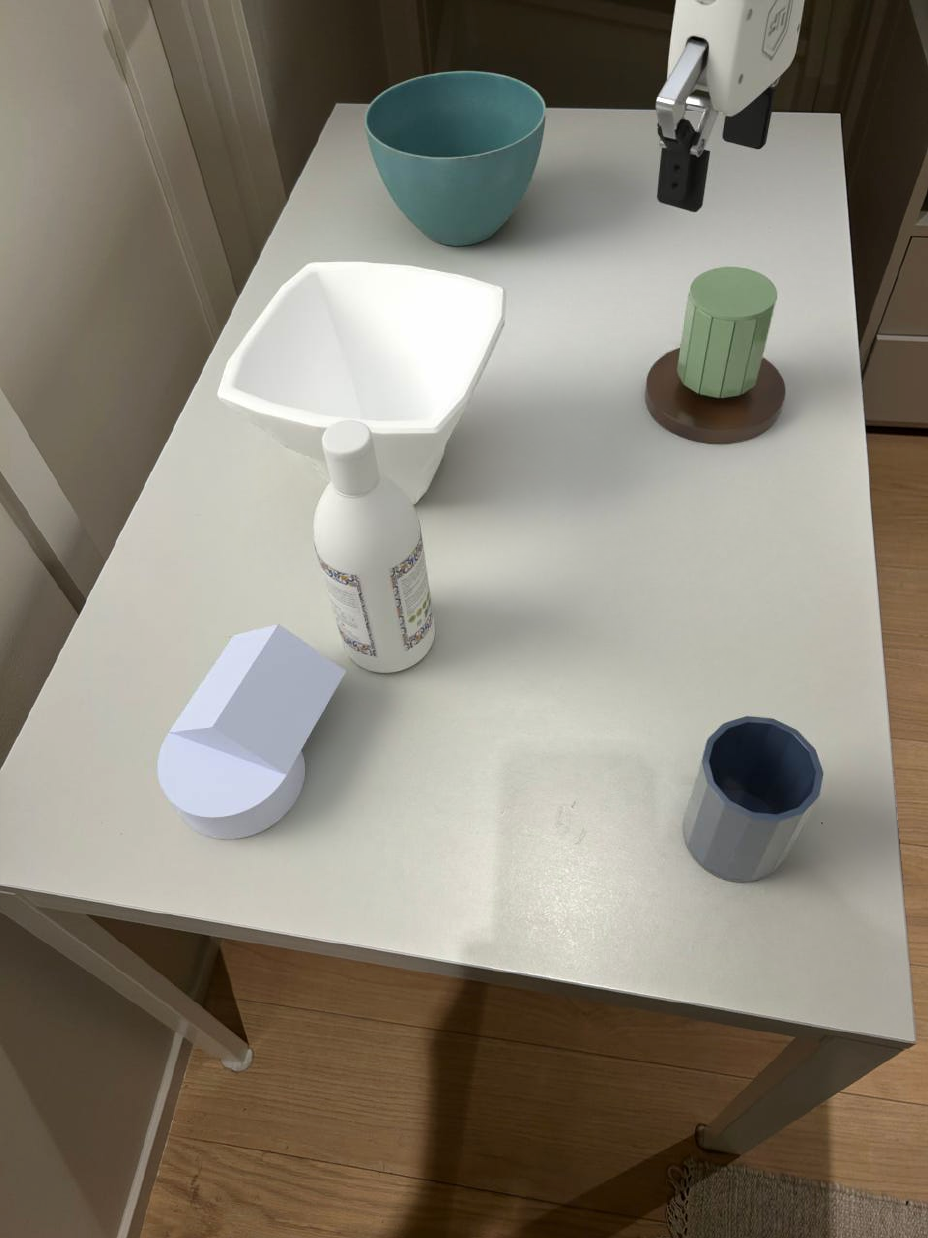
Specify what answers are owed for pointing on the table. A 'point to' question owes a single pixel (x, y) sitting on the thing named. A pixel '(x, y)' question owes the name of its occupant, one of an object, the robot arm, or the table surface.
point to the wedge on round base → (247, 734)
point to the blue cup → (750, 798)
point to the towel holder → (712, 405)
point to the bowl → (367, 361)
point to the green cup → (725, 331)
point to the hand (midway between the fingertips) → (712, 173)
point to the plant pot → (457, 150)
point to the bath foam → (372, 556)
